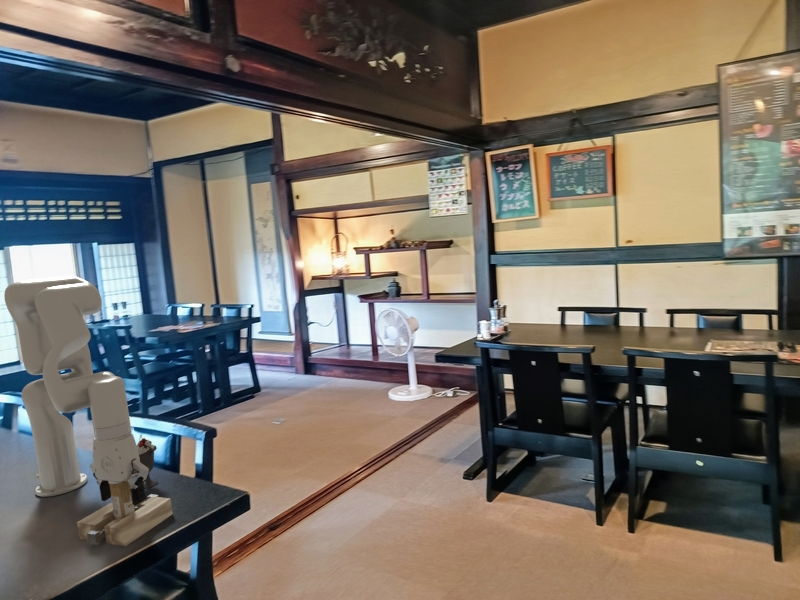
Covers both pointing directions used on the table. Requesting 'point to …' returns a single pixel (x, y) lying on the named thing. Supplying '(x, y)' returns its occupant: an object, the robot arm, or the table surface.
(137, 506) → the plunger
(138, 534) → the slotted wooden block
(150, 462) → the sundae
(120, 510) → the sprinkles bottle
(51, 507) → the table surface
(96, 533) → the plunger
